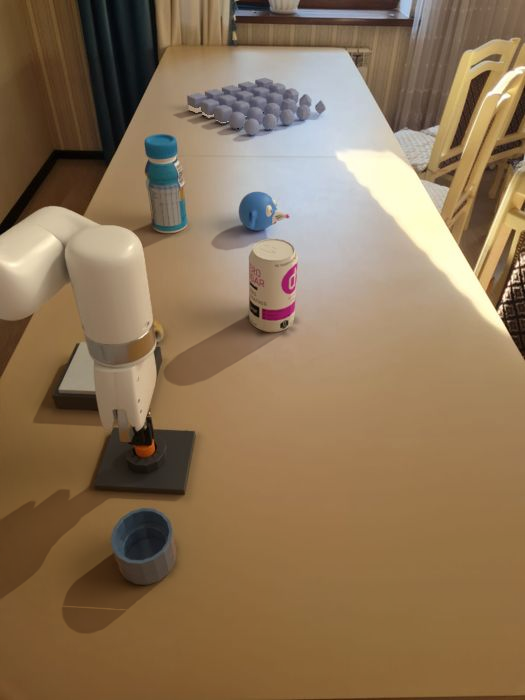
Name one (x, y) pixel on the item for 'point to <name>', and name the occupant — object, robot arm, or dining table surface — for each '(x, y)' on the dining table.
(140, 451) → the button
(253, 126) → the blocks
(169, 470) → the block
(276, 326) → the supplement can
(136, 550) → the bowl
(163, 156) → the beverage bottle
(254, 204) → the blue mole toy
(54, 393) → the scale
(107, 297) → the robot arm
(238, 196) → the dining table surface
